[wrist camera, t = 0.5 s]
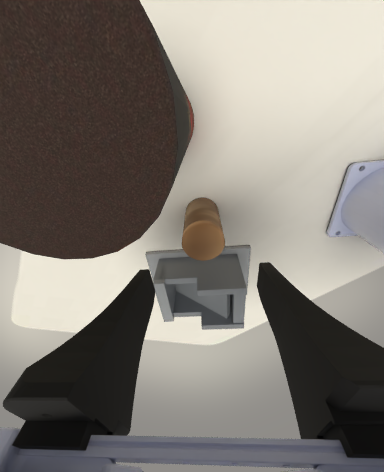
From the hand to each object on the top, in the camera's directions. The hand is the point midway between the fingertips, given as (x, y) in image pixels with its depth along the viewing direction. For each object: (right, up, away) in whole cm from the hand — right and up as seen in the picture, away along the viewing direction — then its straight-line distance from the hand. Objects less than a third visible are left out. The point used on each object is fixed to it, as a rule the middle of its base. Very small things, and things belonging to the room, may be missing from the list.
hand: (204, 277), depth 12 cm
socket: (0, -2, +13) cm, 13 cm away
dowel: (0, +5, +8) cm, 10 cm away
